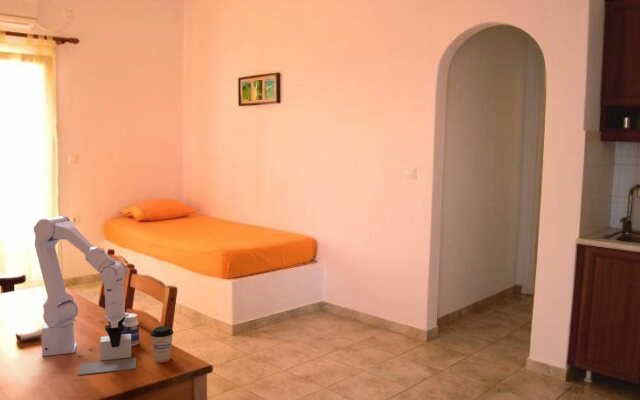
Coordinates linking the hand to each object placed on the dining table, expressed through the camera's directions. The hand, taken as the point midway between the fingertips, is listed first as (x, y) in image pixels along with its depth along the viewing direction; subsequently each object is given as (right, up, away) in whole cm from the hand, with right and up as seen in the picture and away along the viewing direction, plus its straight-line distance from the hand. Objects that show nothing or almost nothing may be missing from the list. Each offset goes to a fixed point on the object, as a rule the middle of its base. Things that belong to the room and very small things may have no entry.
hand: (116, 342), depth 171 cm
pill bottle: (+1, -4, +11) cm, 12 cm away
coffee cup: (+15, -5, -2) cm, 16 cm away
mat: (+1, -5, -8) cm, 10 cm away
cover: (0, -4, 0) cm, 5 cm away
